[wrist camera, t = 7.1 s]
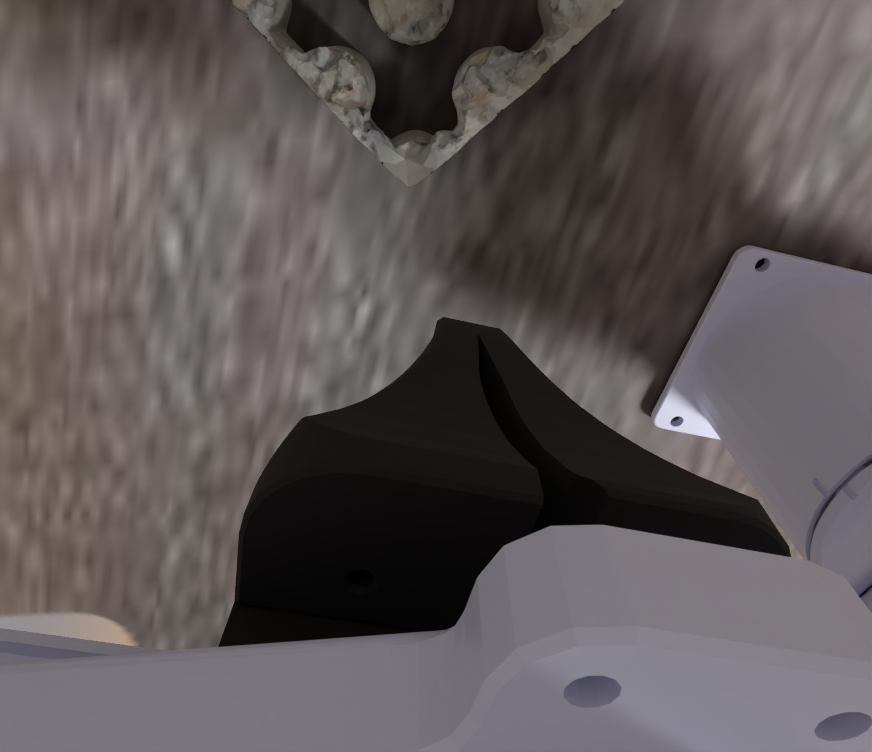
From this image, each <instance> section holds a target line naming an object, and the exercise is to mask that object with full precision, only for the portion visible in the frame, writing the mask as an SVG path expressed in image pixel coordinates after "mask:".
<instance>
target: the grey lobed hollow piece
mask: <svg viewBox="0 0 872 752" xmlns="http://www.w3.org/2000/svg"><path fill="white" fill-rule="evenodd" d="M231 1H232V3H233V4H234V6H235V7H236V8H237V9H238V10H239V11H240V12H241V13H242V14H243V15H244V16H245V17H246V18H247V19H248V20H249V21H250V22H251V23H252V24H253V25H254V26H255V27H256V28H257V29H258V30H259V31H260V32H261V33H262V35H263V36H264V37H265V38H266V39H267V40H268V41H269V42H270V43H271V44H272V46H273V47H274V48H275V49H276V50H277V51H278V53H279V54H280V55H281V56H282V57H283V58H284V60H285V61H286V62H287V63H288V64H289V65H290V66H291V67H292V68H293V69H294V70H295V71H296V72H297V73H298V74H299V76H300V77H301V78H302V79H303V80H304V81H305V82H306V83H307V84H308V85H309V87H310V88H311V89H312V90H313V91H314V92H315V93H316V94H317V95H318V96H319V97H320V99H321V100H322V101H323V102H324V103H325V104H326V105H327V106H328V107H329V108H330V109H331V110H332V111H333V113H334V114H335V115H336V116H337V117H338V118H339V119H340V120H341V121H342V123H343V124H344V125H345V126H346V127H347V128H348V129H349V130H350V131H351V133H352V134H353V135H354V136H355V137H356V138H357V139H358V140H359V141H360V142H361V143H362V144H363V145H365V146H366V147H367V148H368V149H369V150H370V151H371V152H372V153H373V155H374V156H375V157H376V158H377V159H378V160H379V161H380V162H381V163H382V164H383V165H384V166H385V167H386V168H387V170H389V171H390V172H391V173H392V174H393V175H395V176H396V177H397V178H398V179H399V180H400V181H402V182H403V183H404V184H405V185H406V186H408V187H411V186H414V185H417V184H418V183H419V182H421V181H422V180H423V179H424V178H426V177H427V176H428V175H430V174H431V173H432V172H434V171H435V170H436V169H437V168H439V167H440V166H441V165H442V164H443V163H445V162H446V161H447V160H448V159H449V158H451V157H452V156H453V155H454V154H455V153H456V152H458V151H459V150H460V149H461V148H462V147H463V146H464V145H465V144H466V143H467V142H468V141H469V140H470V139H471V138H472V137H473V136H474V135H475V134H477V133H478V132H479V131H480V130H481V129H482V128H483V127H484V126H486V125H487V124H489V123H490V122H491V121H493V119H494V118H495V117H496V116H497V115H498V114H499V113H500V112H501V111H502V110H504V109H505V108H506V107H507V106H508V105H510V104H511V103H512V102H513V101H514V100H515V99H517V98H518V97H520V96H521V95H522V94H523V93H525V92H526V91H527V90H528V89H529V88H530V87H531V86H532V85H534V84H535V83H536V82H537V81H538V80H539V79H540V78H541V77H542V76H543V75H544V74H545V73H546V72H547V71H548V70H549V69H550V68H551V67H552V66H553V65H554V64H555V63H556V62H557V61H558V60H560V59H561V58H562V57H563V56H564V55H565V54H566V53H568V52H569V51H570V50H571V49H572V48H573V47H574V46H576V45H577V44H578V43H579V42H580V41H581V40H582V39H583V38H584V37H585V36H586V35H587V34H588V33H589V32H590V31H591V30H592V29H593V28H594V27H595V26H596V25H598V24H599V23H600V22H601V21H603V20H604V19H605V18H606V17H607V16H609V15H610V14H611V13H612V12H613V11H614V10H615V9H616V8H617V7H618V6H620V5H621V4H622V3H623V2H624V1H625V0H538V13H539V15H540V19H541V23H542V26H543V30H544V33H543V35H542V36H541V37H540V39H539V40H538V41H537V42H536V43H535V44H534V45H533V46H532V47H531V48H530V49H529V50H526V51H523V52H521V53H518V52H514V51H511V50H508V49H507V48H505V47H504V46H493V47H486V48H482V49H479V50H477V51H475V52H474V53H473V54H471V55H470V56H469V57H468V58H467V59H466V60H465V61H464V62H463V63H462V64H461V66H460V68H459V69H458V72H457V74H456V77H455V81H454V85H453V89H452V98H453V101H454V104H455V107H456V110H457V116H458V125H457V126H456V127H455V128H454V129H453V130H452V131H445V130H442V131H437V132H436V133H435V134H434V135H431V134H429V133H427V132H424V131H420V130H411V131H406V132H404V133H401V134H399V135H397V136H395V137H394V138H392V139H390V138H388V137H387V136H386V135H385V134H384V133H383V131H382V130H381V129H380V128H378V126H377V125H376V124H375V123H374V122H373V120H372V119H371V114H370V112H371V108H372V106H373V103H374V99H375V92H376V91H375V90H376V85H375V77H374V73H373V71H372V69H371V67H370V65H369V63H368V61H367V60H366V59H365V58H364V57H363V56H362V55H361V54H360V53H358V52H356V51H355V50H353V49H351V48H348V47H344V46H338V45H337V46H329V47H318V48H315V49H313V50H311V51H308V52H306V53H305V52H304V51H303V50H302V49H301V47H300V46H299V45H297V44H296V43H295V42H294V41H293V39H292V38H291V37H290V36H289V35H288V34H287V32H286V31H287V25H288V22H289V19H290V15H291V12H292V0H231ZM368 1H369V7H370V10H371V12H372V15H373V17H374V19H375V21H376V23H377V24H378V26H379V27H380V28H381V29H382V31H383V32H384V33H385V34H386V35H387V36H388V37H389V38H390V39H392V40H395V41H398V42H400V43H403V44H404V43H405V44H408V45H411V46H413V45H417V44H421V43H425V42H428V41H431V40H433V39H435V38H436V37H437V36H438V35H439V33H440V32H441V31H442V30H443V29H444V27H445V26H446V25H447V23H448V21H449V18H450V16H451V14H452V11H453V6H454V0H368ZM364 9H365V8H364Z"/></svg>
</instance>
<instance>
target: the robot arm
mask: <svg viewBox="0 0 872 752" xmlns="http://www.w3.org/2000/svg"><path fill="white" fill-rule="evenodd" d="M762 258H765V261H764V264H763V265H762V266H761V267H759V268H755V264H756V263H757V261H758V260H760V259H762ZM677 416H680V417H679V418H678V419H677V420H675V421H671V420H672V419H673V418H674V417H677ZM651 419H652V421H653V423H654V424H655V425H656V427H659V428H662V429H667V430H673V431H678V432H683V433H688V434H693V435H698V436H703V437H708V438H714V439H719V440H721V441H722V442H723V444H724V445H725V446H726V448H727V449H728V451H729V452H730V454H731V455H732V457H733V458H734V459H735V461H736V462H737V464H738V465H739V467H740V468H741V470H742V471H743V472H744V474H745V475H746V477H747V478H748V480H749V481H750V482H751V484H752V485H753V487H754V488H755V490H756V491H757V493H758V494H759V495H760V497H761V498H762V500H763V501H764V503H765V504H766V506H767V507H768V508H769V510H770V511H771V513H772V514H773V516H774V517H775V519H776V520H777V521H778V523H779V524H780V526H781V527H782V529H783V530H784V531H785V533H786V534H787V536H788V537H789V539H790V540H791V542H792V543H793V544H794V546H795V547H796V549H797V550H798V552H799V553H800V555H801V556H802V557H803V559H804V560H803V559H797V558H792V557H791V554H790V549H789V546H788V545H787V543H786V542H785V540H784V539H783V537H782V536H781V534H780V533H779V531H778V530H777V528H776V527H775V525H774V524H773V522H772V521H771V519H770V518H769V516H768V514H767V513H766V511H765V510H764V508H763V507H762V505H761V504H760V502H759V501H758V500H756V499H754V498H751V497H749V496H746V495H744V494H741V493H739V492H736V491H734V490H732V489H729V488H727V487H724V486H722V485H719V484H717V483H714V482H712V481H709V480H707V479H704V478H702V477H699V476H697V475H695V474H693V473H691V472H689V471H686V470H684V469H682V468H680V467H678V466H676V465H674V464H672V463H670V462H668V461H666V460H664V459H662V458H660V457H658V456H656V455H654V454H653V453H651V452H649V451H647V450H645V449H643V448H642V447H640V446H638V445H637V444H635V443H633V442H632V441H630V440H628V439H627V438H625V437H623V436H622V435H620V434H618V433H617V432H615V431H614V430H612V429H611V428H609V427H608V426H606V425H605V424H603V423H602V422H600V421H599V420H598V419H596V418H595V417H594V416H592V415H591V414H590V413H588V412H587V411H586V410H584V409H583V408H581V407H580V406H579V405H578V404H576V403H575V402H574V401H573V400H572V399H570V398H569V397H568V396H567V395H566V394H565V393H564V392H563V391H561V390H560V389H559V388H558V387H557V386H556V385H555V384H554V383H553V382H551V381H550V380H549V379H548V378H547V377H546V376H545V375H544V374H543V373H542V372H541V371H540V370H539V369H538V368H537V367H536V366H535V365H534V364H533V362H532V361H531V360H530V359H529V358H528V357H527V356H526V355H525V354H524V353H523V352H522V351H521V350H520V349H519V348H518V346H517V345H516V344H515V343H514V342H513V341H512V340H511V339H510V338H509V337H508V336H507V335H506V334H505V333H504V332H503V331H502V330H500V329H498V328H493V327H488V326H484V325H479V324H474V323H469V322H464V321H460V320H455V319H450V318H445V317H443V318H441V319H440V320H438V321H437V324H436V328H435V332H434V336H433V338H432V340H431V341H430V343H429V344H428V346H427V347H426V349H425V350H424V352H423V353H422V354H421V355H420V356H419V357H418V359H417V360H416V361H415V362H414V363H413V364H412V365H411V366H410V367H409V368H408V369H407V370H406V371H405V372H404V373H403V374H402V375H401V376H400V377H399V378H397V379H396V380H395V381H394V382H392V383H391V384H390V385H388V386H387V387H385V388H384V389H382V390H381V391H379V392H378V393H376V394H375V395H373V396H371V397H369V398H368V399H365V400H363V401H361V402H358V403H356V404H353V405H350V406H348V407H345V408H342V409H338V410H334V411H330V412H325V413H321V414H317V415H313V416H307V417H304V418H302V419H301V420H300V421H299V422H298V423H297V425H296V426H295V427H294V428H293V429H292V431H291V432H290V433H289V434H288V436H287V437H286V438H285V440H284V441H283V442H282V444H281V445H280V446H279V448H278V449H277V451H276V452H275V453H274V455H273V456H272V458H271V460H270V461H269V463H268V464H267V466H266V468H265V469H264V471H263V473H262V474H261V476H260V478H259V480H258V482H257V484H256V486H255V488H254V490H253V493H252V495H251V498H250V500H249V503H248V505H247V508H246V510H245V513H244V516H243V520H242V524H241V528H240V531H239V542H238V557H237V572H236V587H235V602H234V605H233V608H232V610H231V613H230V616H229V619H228V622H227V624H226V627H225V630H224V633H223V635H222V638H221V641H220V644H219V646H218V647H211V648H198V649H184V650H171V651H165V650H157V649H150V648H143V647H135V646H128V645H120V644H113V643H106V642H98V641H91V640H83V639H76V638H69V637H61V636H53V635H47V634H38V633H31V632H25V631H17V630H10V629H2V628H0V752H872V274H869V273H865V272H861V271H857V270H852V269H848V268H844V267H840V266H836V265H831V264H827V263H823V262H819V261H815V260H810V259H806V258H802V257H798V256H794V255H789V254H785V253H781V252H777V251H772V250H768V249H764V248H760V247H756V246H744V247H741V248H740V249H738V250H737V251H736V252H735V253H734V254H733V256H732V258H731V260H730V262H729V264H728V266H727V267H726V269H725V271H724V273H723V275H722V277H721V279H720V281H719V283H718V285H717V287H716V289H715V291H714V293H713V295H712V297H711V299H710V301H709V302H708V304H707V306H706V308H705V310H704V312H703V314H702V316H701V318H700V320H699V322H698V324H697V326H696V328H695V330H694V332H693V334H692V336H691V337H690V339H689V341H688V343H687V345H686V347H685V349H684V351H683V353H682V355H681V357H680V359H679V361H678V363H677V365H676V367H675V369H674V371H673V372H672V374H671V376H670V378H669V380H668V382H667V384H666V386H665V388H664V390H663V392H662V394H661V396H660V398H659V400H658V402H657V404H656V406H655V407H654V409H653V411H652V414H651Z"/></svg>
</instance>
